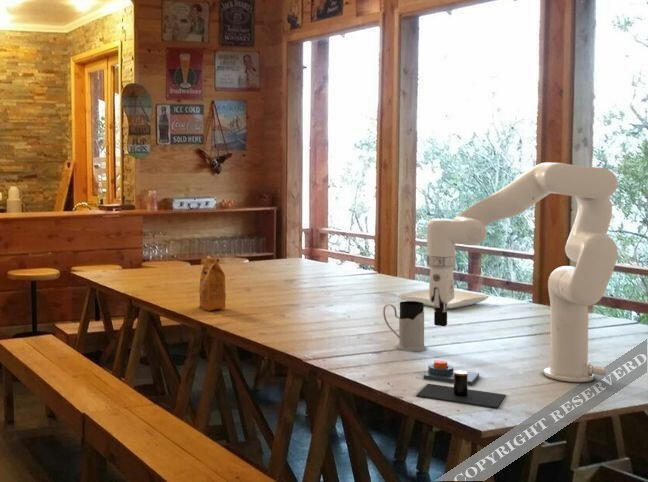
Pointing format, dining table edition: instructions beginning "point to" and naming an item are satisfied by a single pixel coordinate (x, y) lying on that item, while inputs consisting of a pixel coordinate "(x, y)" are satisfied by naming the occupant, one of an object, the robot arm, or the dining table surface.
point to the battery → (460, 383)
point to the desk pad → (472, 398)
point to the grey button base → (447, 374)
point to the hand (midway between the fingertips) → (440, 325)
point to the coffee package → (212, 285)
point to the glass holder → (410, 325)
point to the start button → (440, 364)
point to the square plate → (458, 301)
